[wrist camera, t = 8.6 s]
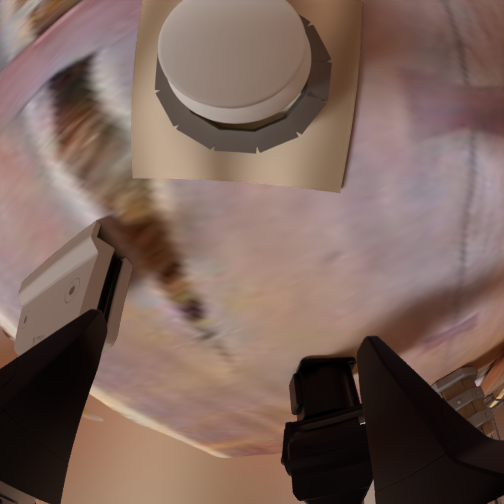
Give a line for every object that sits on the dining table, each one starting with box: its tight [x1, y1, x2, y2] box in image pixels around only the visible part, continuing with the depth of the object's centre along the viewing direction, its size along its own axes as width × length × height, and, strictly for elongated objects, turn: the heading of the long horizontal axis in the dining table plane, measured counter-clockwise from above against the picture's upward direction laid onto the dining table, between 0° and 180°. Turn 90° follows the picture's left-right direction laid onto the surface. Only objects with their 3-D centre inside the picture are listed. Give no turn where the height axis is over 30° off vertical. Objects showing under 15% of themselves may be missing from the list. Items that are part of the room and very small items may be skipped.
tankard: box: [431, 367, 495, 437], centre depth 29 cm, size 20×13×15 cm, turn 120°
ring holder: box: [131, 0, 363, 193], centre depth 13 cm, size 14×14×2 cm
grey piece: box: [14, 220, 133, 355], centre depth 19 cm, size 17×5×10 cm, turn 116°
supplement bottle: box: [158, 0, 311, 124], centre depth 9 cm, size 5×5×10 cm
